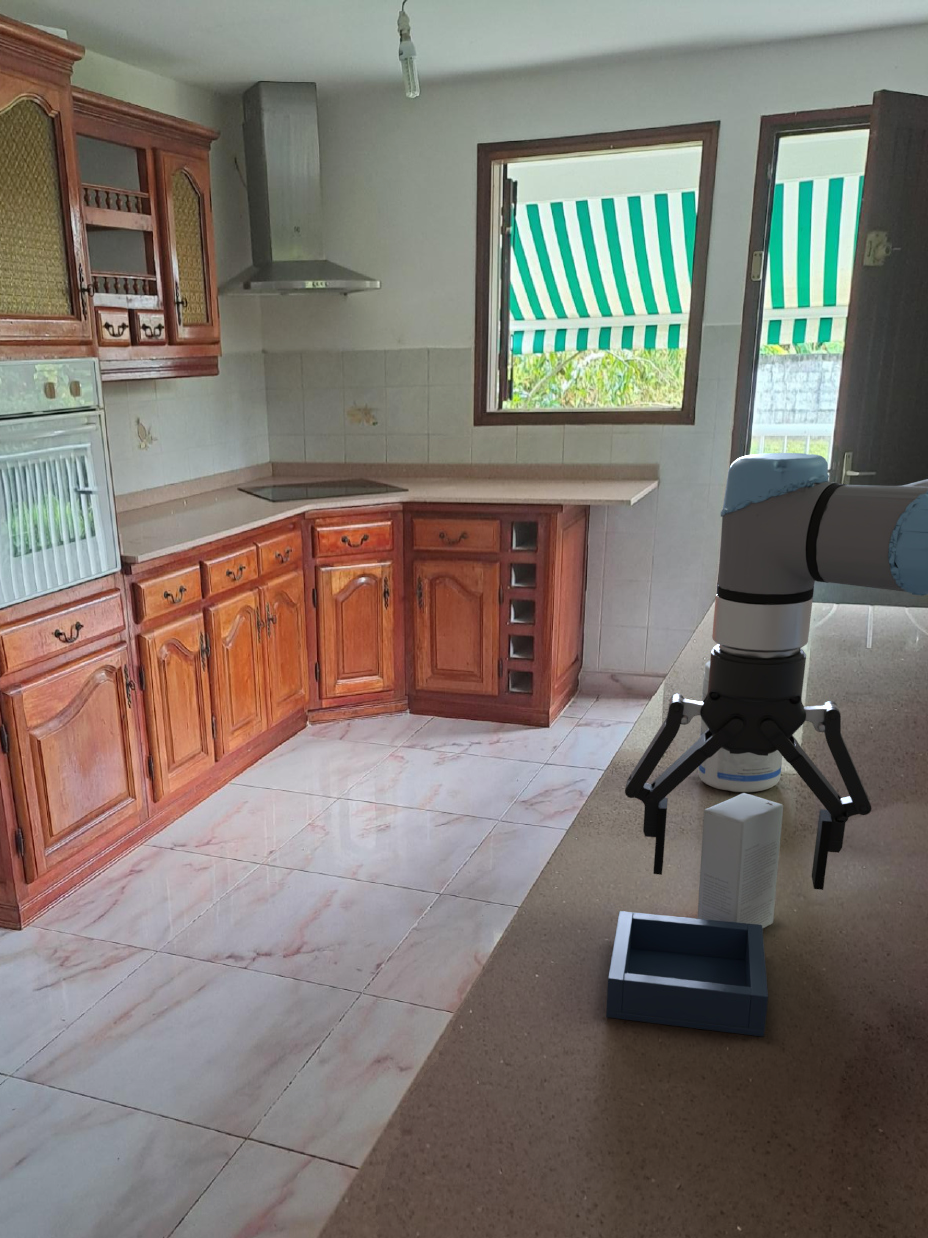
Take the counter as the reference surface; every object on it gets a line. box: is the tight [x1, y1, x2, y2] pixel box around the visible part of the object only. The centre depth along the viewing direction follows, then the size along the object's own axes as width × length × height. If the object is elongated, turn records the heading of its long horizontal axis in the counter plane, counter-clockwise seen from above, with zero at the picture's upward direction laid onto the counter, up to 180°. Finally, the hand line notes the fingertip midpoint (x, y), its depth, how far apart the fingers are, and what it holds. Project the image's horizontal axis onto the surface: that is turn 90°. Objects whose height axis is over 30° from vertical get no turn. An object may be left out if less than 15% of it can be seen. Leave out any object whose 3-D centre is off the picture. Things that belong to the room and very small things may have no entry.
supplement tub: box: [697, 660, 783, 793], centre depth 134 cm, size 10×10×15 cm
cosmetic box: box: [696, 792, 784, 930], centre depth 100 cm, size 6×4×12 cm
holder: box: [605, 910, 769, 1038], centre depth 92 cm, size 12×12×4 cm
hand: (736, 875), depth 101 cm, fingers open, 13 cm apart
